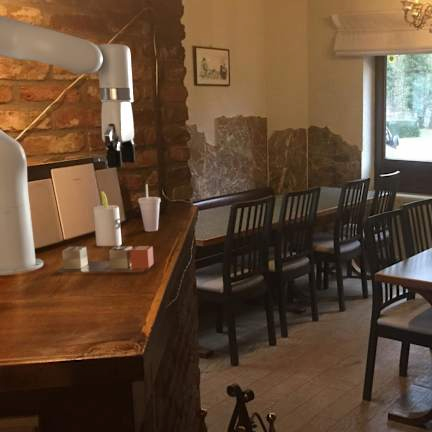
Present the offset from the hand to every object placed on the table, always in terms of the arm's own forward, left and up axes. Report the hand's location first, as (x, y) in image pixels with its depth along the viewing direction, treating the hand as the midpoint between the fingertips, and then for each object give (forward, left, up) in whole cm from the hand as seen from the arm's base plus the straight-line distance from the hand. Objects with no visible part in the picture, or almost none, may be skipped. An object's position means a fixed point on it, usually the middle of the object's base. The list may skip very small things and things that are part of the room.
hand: (122, 164), depth 158 cm
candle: (-8, +9, -23) cm, 26 cm away
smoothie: (-2, +27, -23) cm, 36 cm away
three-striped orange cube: (+8, -14, -23) cm, 28 cm away
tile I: (-8, -14, -23) cm, 28 cm away
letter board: (-1, -14, -23) cm, 27 cm away
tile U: (+3, -14, -23) cm, 27 cm away
